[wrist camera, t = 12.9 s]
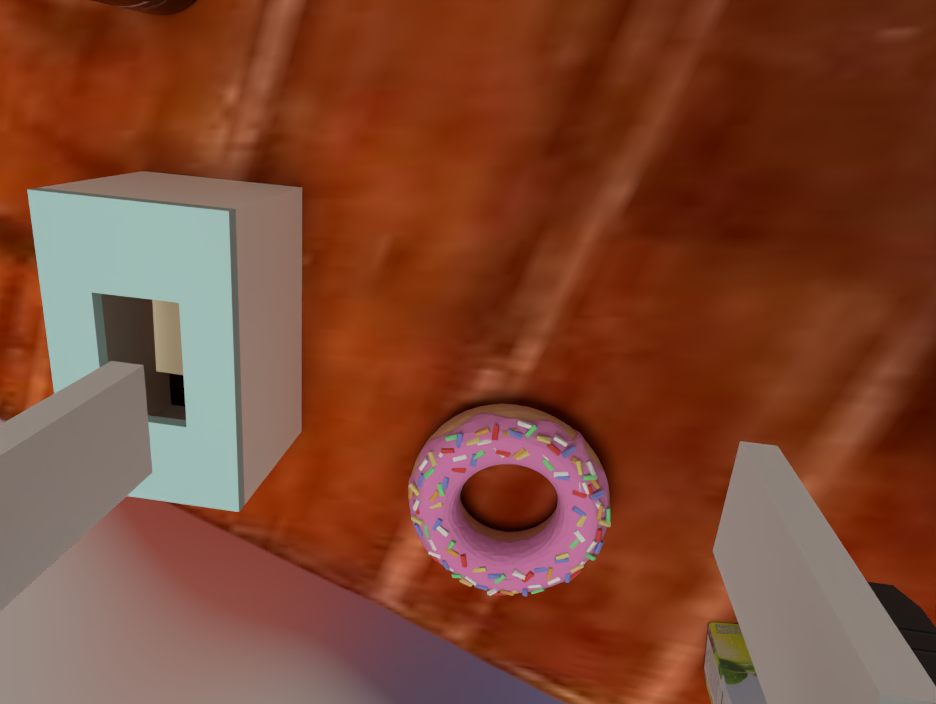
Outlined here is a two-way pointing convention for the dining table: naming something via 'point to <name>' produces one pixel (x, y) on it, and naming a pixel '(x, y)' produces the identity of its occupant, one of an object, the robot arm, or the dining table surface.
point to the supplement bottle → (150, 5)
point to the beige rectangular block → (167, 337)
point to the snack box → (730, 667)
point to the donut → (500, 552)
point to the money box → (183, 316)
